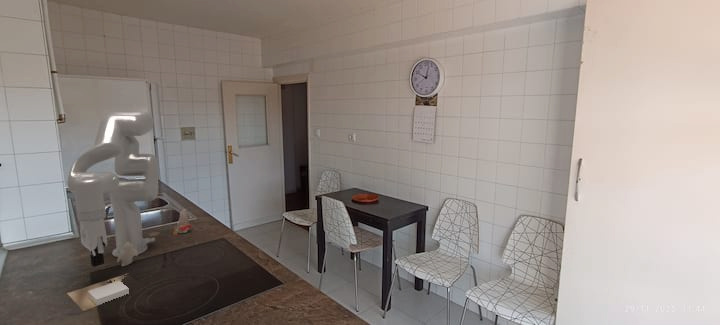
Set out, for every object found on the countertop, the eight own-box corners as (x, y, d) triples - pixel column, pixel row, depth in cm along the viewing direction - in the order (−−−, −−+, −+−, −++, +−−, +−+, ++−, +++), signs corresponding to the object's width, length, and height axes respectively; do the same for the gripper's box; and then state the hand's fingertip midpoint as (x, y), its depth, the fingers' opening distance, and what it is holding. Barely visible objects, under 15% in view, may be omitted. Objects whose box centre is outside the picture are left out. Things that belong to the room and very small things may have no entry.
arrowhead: (119, 270, 133) (117, 245, 131) (115, 269, 134) (113, 244, 132) (140, 262, 140) (138, 239, 138) (136, 261, 141) (134, 237, 140)
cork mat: (128, 274, 130) (128, 273, 130) (147, 288, 121) (147, 287, 121) (67, 294, 116) (67, 293, 116) (83, 312, 106) (83, 310, 106)
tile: (119, 280, 120) (128, 288, 116) (119, 286, 121) (129, 294, 116) (87, 291, 113) (96, 299, 109) (88, 297, 114) (97, 305, 109)
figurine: (182, 228, 179) (184, 206, 177) (193, 231, 177) (195, 209, 175) (168, 233, 170) (170, 210, 168) (180, 237, 168) (182, 213, 167)
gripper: (70, 211, 118) (77, 261, 121) (85, 222, 109) (92, 276, 113) (97, 206, 124) (102, 254, 127) (113, 216, 115) (119, 267, 119)
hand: (98, 264), depth 120 cm, fingers closed
